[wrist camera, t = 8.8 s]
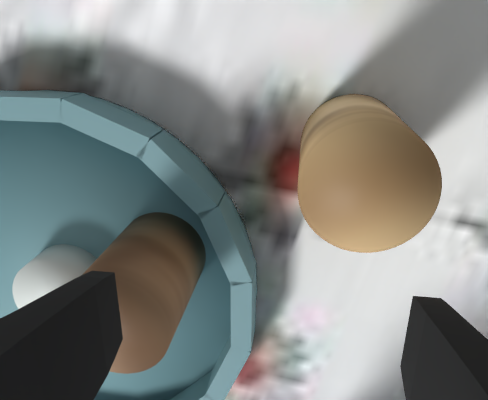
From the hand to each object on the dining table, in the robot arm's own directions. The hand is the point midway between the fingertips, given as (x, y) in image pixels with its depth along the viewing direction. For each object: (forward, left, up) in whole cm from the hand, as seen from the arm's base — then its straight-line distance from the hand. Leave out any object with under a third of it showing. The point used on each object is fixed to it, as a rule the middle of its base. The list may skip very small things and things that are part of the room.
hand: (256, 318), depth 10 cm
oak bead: (+1, -3, -11) cm, 11 cm away
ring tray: (-2, +13, -11) cm, 16 cm away
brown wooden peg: (-2, +7, -10) cm, 12 cm away
